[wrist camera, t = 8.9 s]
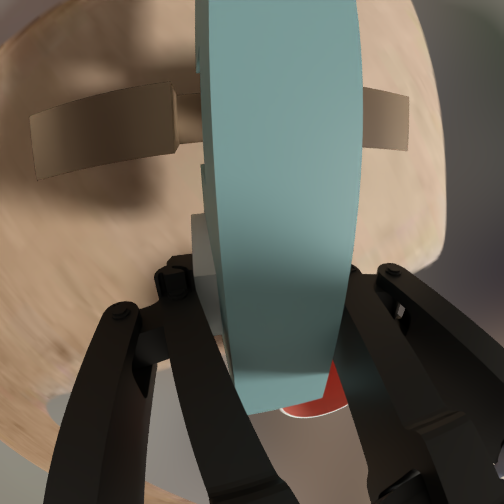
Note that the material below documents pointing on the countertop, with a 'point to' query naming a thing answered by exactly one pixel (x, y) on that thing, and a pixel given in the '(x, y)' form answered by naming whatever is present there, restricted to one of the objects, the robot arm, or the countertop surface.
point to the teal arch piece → (280, 184)
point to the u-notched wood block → (165, 127)
